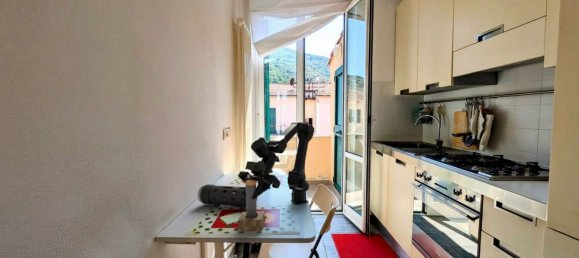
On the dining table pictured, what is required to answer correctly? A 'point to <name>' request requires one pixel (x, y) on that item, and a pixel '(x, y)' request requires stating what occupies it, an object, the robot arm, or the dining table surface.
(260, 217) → the socket block
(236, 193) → the muzzle brake
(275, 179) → the robot arm
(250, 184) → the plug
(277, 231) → the dining table surface
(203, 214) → the dining table surface
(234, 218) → the mat
